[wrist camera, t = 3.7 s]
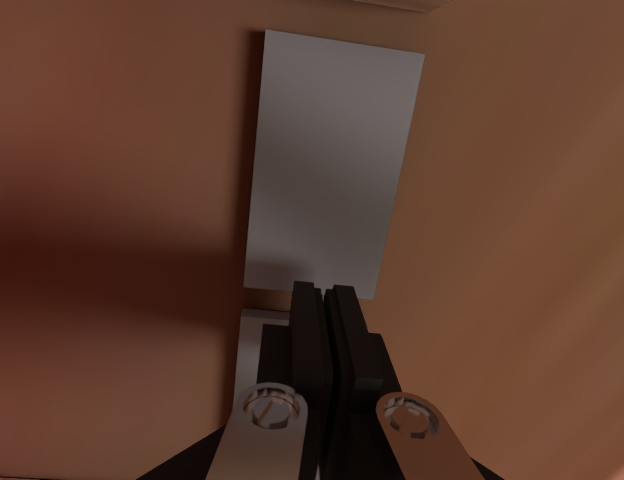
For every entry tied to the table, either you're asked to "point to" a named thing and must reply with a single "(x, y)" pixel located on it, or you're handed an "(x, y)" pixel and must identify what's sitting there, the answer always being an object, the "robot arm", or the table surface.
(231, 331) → the table surface
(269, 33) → the channel
